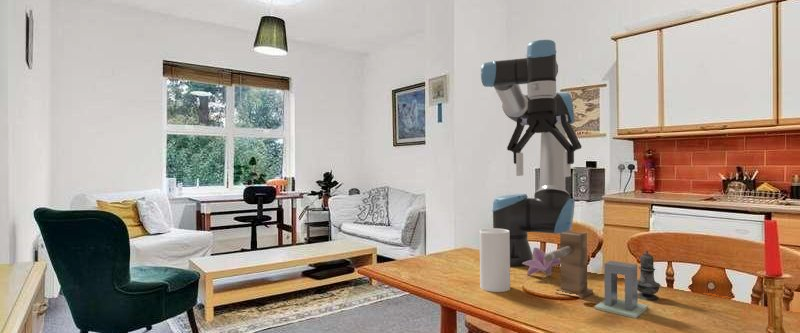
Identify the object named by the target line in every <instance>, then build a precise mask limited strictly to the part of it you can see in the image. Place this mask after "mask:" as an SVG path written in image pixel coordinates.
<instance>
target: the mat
mask: <svg viewBox="0 0 800 333" xmlns="http://www.w3.org/2000/svg"><path fill="white" fill-rule="evenodd" d="M593 308H594V310H599V311H603V312H605V313H610V314H611V313H612V314H616V315H620V316H625V317H628V318H632V319H637V318H639V316H640V315H641V314H643V313H644V312H646V310H648V309H649V305H647V304H642V303H638V307H637V308H635V309H634V310H633V311H629V310H625V299H618V298H617V303H616V304H614V305H613V306H607V305H605V299H603V300H601V301H600V302H599V303H598V304H595V305H594V307H593Z"/></svg>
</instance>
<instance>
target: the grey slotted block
mask: <svg viewBox="0 0 800 333" xmlns="http://www.w3.org/2000/svg"><path fill="white" fill-rule="evenodd" d="M603 266H604V267H603V268H604V271H603V272H604V300H605V305H607V306H613V305H614V304H616V303H617V299H618V275H621V276H624V301H625V310H629V311H633V310H634V309H635V308H637V307H638V304H639V302H638V299H639V298H638V293H639V292H638V290H637V280H638V264H637V263H629V262H623V261H616V260H609V261H607V262H604V264H603Z"/></svg>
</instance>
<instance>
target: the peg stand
mask: <svg viewBox="0 0 800 333" xmlns="http://www.w3.org/2000/svg"><path fill="white" fill-rule="evenodd" d="M559 236H560V237H559V238H560V240H559V241H560V242H559V245H560V248H558V249H556V250H553V251H550V252H547V253H546V254H545V255H544V259H545V260H546V261H547V262H550V261H553V260H555V259H558V258H560V259H561V264H560V287H558V288H555V289H554V290H557V291H562V292H565V293H569V294H576V295H579V296H580V297H579V298H578V299H579V300H583V299H584V298H586V297H588V296H590V295H591V294H593V292H594V288H589V287H588V233H587V232H584V231H583V232H582V231H573V230H570V231H566V232H563V233H560V235H559Z"/></svg>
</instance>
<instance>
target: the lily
mask: <svg viewBox="0 0 800 333" xmlns="http://www.w3.org/2000/svg"><path fill="white" fill-rule="evenodd" d="M532 254H533V260H529V261H526V262H523V263H522V264H524V265H523V266H529V268H528V270H527V272H526V275H527V276H530V275H532V274H535V273H537V272H542V273H544V274H545V275H546V280H547V282H548V281H549V282H550V280H549V276H551V275H552V267H554V266H557V265H561V258H558V259H555V260H553V261H550V262H547V261H546V260H545V259H544V255H545V254H547V253H546V252H545V251H544V250H542V249H540V248H538V247H534V248H533V250H532Z"/></svg>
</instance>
